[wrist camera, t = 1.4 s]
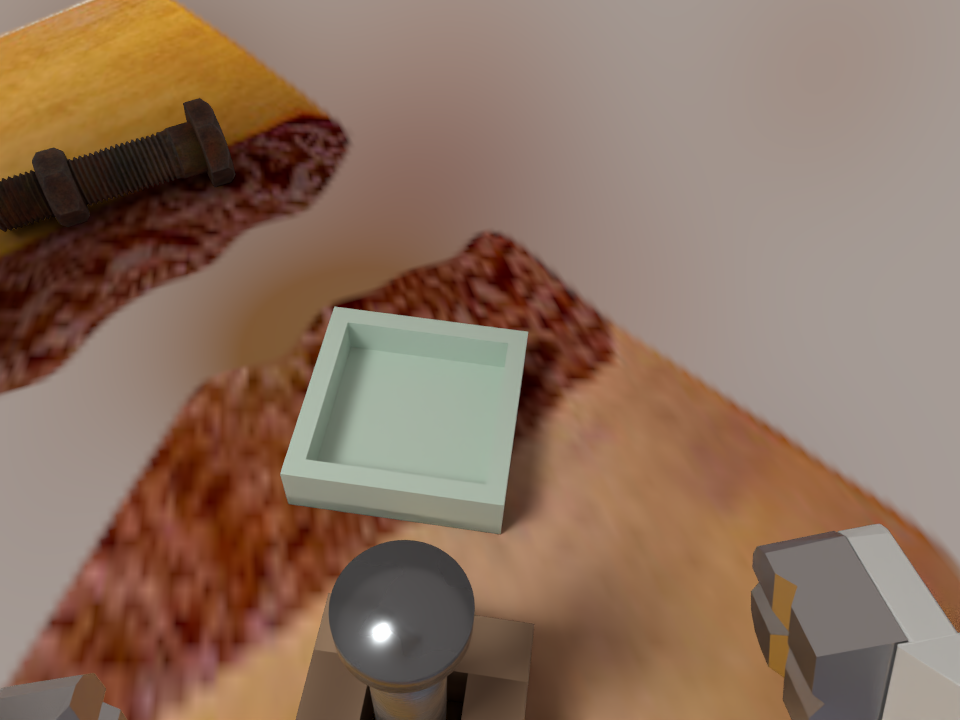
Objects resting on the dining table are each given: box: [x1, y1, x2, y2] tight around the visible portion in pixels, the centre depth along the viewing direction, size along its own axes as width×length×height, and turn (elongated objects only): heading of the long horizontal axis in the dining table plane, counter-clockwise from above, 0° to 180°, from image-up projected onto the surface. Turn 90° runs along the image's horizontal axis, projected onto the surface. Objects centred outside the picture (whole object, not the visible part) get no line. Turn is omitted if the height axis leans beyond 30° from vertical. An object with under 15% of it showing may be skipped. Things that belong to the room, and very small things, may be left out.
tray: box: [280, 307, 528, 534], centre depth 47 cm, size 11×11×3 cm
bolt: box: [0, 98, 235, 232], centre depth 57 cm, size 6×5×15 cm
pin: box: [328, 540, 475, 720], centre depth 33 cm, size 4×4×15 cm
